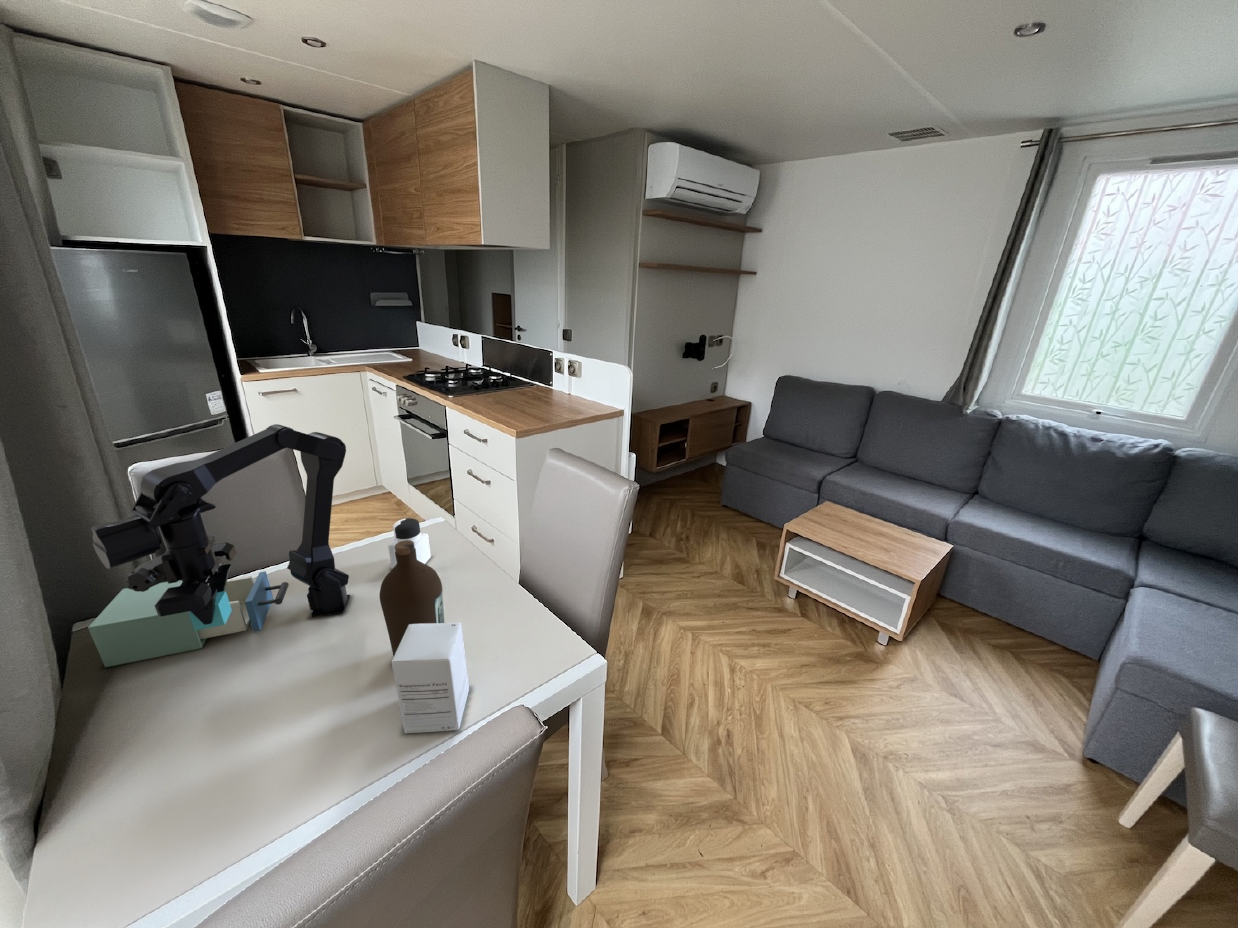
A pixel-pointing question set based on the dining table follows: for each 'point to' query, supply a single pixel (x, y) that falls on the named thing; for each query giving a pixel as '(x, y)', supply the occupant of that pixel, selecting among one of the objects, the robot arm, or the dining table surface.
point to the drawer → (247, 604)
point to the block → (215, 613)
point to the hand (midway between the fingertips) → (212, 615)
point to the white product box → (431, 677)
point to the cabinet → (141, 628)
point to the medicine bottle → (410, 531)
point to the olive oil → (410, 594)
